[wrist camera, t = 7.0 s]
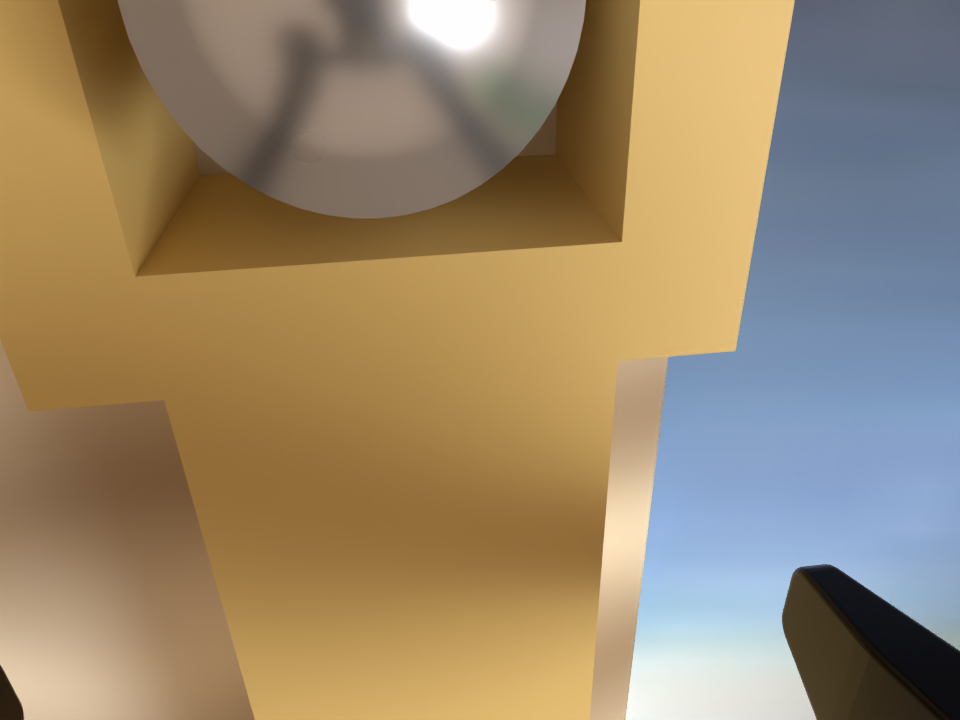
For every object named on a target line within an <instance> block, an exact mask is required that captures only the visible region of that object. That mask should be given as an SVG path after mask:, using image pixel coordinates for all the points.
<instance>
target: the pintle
mask: <svg viewBox="0 0 960 720" xmlns="http://www.w3.org/2000/svg"><path fill="white" fill-rule="evenodd" d="M118 4H119V8H120V11H121V15H122V18H123V21H124V24H125V28H126V31H127V34H128V38H129V40H130V43H131V45H132V47H133V49H134V52H135V54H136V56H137V59H138V61H139V63H140V66H141V68H142V70H143V72H144V74H145V75H146V77H147V79H148V81H149V82H150V84H151V86H152V88H153V89H154V91H155V93H156V94H157V96H158V98H159V100H160V101H161V102H162V104H163V105H164V106H165V108H166V109H167V110H168V112H169V113H170V114H171V116H172V117H173V118H174V120H175V121H176V123H177V124H178V125H179V126H180V127H181V129H182V130H183V131H184V132H185V133H186V134H187V135H188V136H189V137H190V138H191V139H192V140H193V141H194V142H195V144H196V145H197V146H198V147H199V148H200V149H201V150H202V151H204V152H205V153H206V154H207V155H208V156H209V157H211V158H212V159H213V160H214V161H215V162H216V163H218V164H219V165H220V166H221V167H222V168H223V169H225V170H226V171H228V172H229V173H231V174H232V175H234V176H235V177H237V178H238V179H240V180H241V181H243V182H244V183H246V184H247V185H249V186H251V187H252V188H254V189H256V190H258V191H260V192H262V193H264V194H266V195H268V196H270V197H272V198H274V199H276V200H279V201H282V202H284V203H287V204H290V205H292V206H295V207H297V208H300V209H304V210H308V211H312V212H316V213H320V214H324V215H330V216H338V217H346V218H387V217H395V216H403V215H409V214H413V213H417V212H420V211H424V210H428V209H432V208H435V207H437V206H440V205H442V204H445V203H447V202H450V201H452V200H455V199H457V198H459V197H461V196H462V195H464V194H466V193H468V192H470V191H471V190H473V189H475V188H477V187H479V186H480V185H482V184H483V183H484V182H486V181H487V180H489V179H490V178H491V177H493V176H494V175H495V174H497V173H498V172H499V171H501V170H502V169H503V168H504V167H505V166H506V165H507V164H508V163H509V162H511V161H512V160H513V159H514V158H515V157H516V156H517V155H518V154H519V153H520V152H521V151H522V150H523V149H524V147H525V146H526V145H527V144H528V143H529V141H530V140H531V139H532V138H533V137H534V135H535V134H536V133H537V132H538V131H539V129H540V128H541V126H542V125H543V123H544V121H545V120H546V118H547V117H548V115H549V114H550V112H551V111H552V109H553V107H554V106H555V104H556V102H557V100H558V98H559V96H560V94H561V91H562V89H563V87H564V85H565V83H566V81H567V79H568V76H569V73H570V70H571V67H572V64H573V62H574V59H575V56H576V53H577V50H578V45H579V41H580V36H581V31H582V27H583V22H584V15H585V5H586V0H118Z"/></svg>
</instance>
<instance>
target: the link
mask: <svg viewBox="0 0 960 720" xmlns="http://www.w3.org/2000/svg"><path fill="white" fill-rule="evenodd" d="M794 1H795V0H586V5H585V15H584V22H583V27H582V31H581V36H580V41H579V45H578V50H577V53H576V56H575V59H574V62H573V64H572V67H571V70H570V73H569V76H568V79H567V81H566V83H565V85H564V87H563V89H562V91H561V94H560V96H559V98H558V100H557V117H556V154H548V155H532V156H516V157H515V158H514V159H513V160H512V161H511V162H509V163H508V164H507V165H506V166H505V167H504V168H503V169H502V170H501V171H499V172H498V173H497V174H495V175H494V176H493V177H491V178H490V179H489V180H487V181H486V182H484V183H483V184H482V185H480V186H479V187H477V188H475V189H473V190H471V191H470V192H468V193H466V194H464V195H462V196H461V197H459V198H457V199H455V200H452V201H450V202H447V203H445V204H442V205H440V206H437V207H435V208H432V209H428V210H424V211H420V212H417V213H413V214H409V215H403V216H395V217H387V218H346V217H338V216H330V215H324V214H320V213H316V212H312V211H308V210H304V209H300V208H297V207H295V206H292V205H290V204H287V203H284V202H282V201H279V200H276V199H274V198H272V197H270V196H268V195H266V194H264V193H262V192H260V191H258V190H256V189H254V188H252V187H251V186H249V185H247V184H246V183H244V182H243V181H241V180H240V179H238V178H237V177H235V176H234V175H232V174H231V173H230V174H213V175H200V172H199V168H198V163H197V159H196V154H195V149H194V145H193V140H192V139H191V138H190V137H189V136H188V135H187V134H186V133H185V132H184V131H183V130H182V129H181V127H180V126H179V125H178V124H177V123H176V121H175V120H174V118H173V117H172V116H171V114H170V113H169V112H168V110H167V109H166V108H165V106H164V105H163V104H162V102H161V101H160V100H159V98H158V96H157V94H156V93H155V91H154V89H153V88H152V86H151V84H150V82H149V81H148V79H147V77H146V75H145V74H144V72H143V70H142V68H141V66H140V63H139V61H138V59H137V56H136V54H135V52H134V49H133V47H132V45H131V43H130V40H129V38H128V34H127V31H126V28H125V24H124V21H123V18H122V15H121V11H120V8H119V4H118V0H0V340H1V343H2V345H3V348H4V350H5V353H6V355H7V358H8V360H9V363H10V365H11V368H12V371H13V373H14V376H15V378H16V381H17V383H18V386H19V388H20V391H21V393H22V396H23V398H24V401H25V403H26V406H27V408H28V411H29V412H31V411H43V410H54V409H66V408H77V407H89V406H101V405H112V404H124V403H136V402H147V401H159V400H164V401H165V405H166V408H167V412H168V416H169V419H170V423H171V426H172V430H173V433H174V437H175V440H176V444H177V447H178V451H179V454H180V458H181V461H182V465H183V468H184V472H185V475H186V479H187V482H188V486H189V490H190V493H191V497H192V500H193V504H194V507H195V511H196V514H197V518H198V521H199V525H200V528H201V532H202V535H203V539H204V542H205V546H206V549H207V553H208V557H209V560H210V564H211V567H212V571H213V574H214V578H215V581H216V585H217V588H218V592H219V595H220V599H221V602H222V606H223V609H224V613H225V616H226V620H227V623H228V627H229V631H230V634H231V638H232V641H233V645H234V648H235V652H236V655H237V659H238V662H239V666H240V669H241V673H242V676H243V680H244V683H245V687H246V690H247V694H248V697H249V701H250V705H251V708H252V712H253V715H254V719H255V720H590V708H591V696H592V683H593V670H594V658H595V645H596V632H597V619H598V607H599V594H600V581H601V569H602V556H603V543H604V531H605V518H606V505H607V492H608V480H609V467H610V454H611V442H612V429H613V416H614V404H615V391H616V378H617V366H618V361H624V360H636V359H647V358H659V357H671V356H682V355H694V354H706V353H717V352H729V351H735V350H736V344H737V338H738V333H739V327H740V321H741V315H742V309H743V303H744V297H745V291H746V285H747V279H748V273H749V267H750V262H751V256H752V250H753V244H754V238H755V232H756V226H757V220H758V214H759V208H760V202H761V197H762V191H763V185H764V179H765V173H766V167H767V161H768V155H769V149H770V143H771V137H772V131H773V126H774V120H775V114H776V108H777V102H778V96H779V90H780V84H781V78H782V72H783V66H784V60H785V55H786V49H787V43H788V37H789V31H790V25H791V19H792V13H793V7H794Z"/></svg>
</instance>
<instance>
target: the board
mask: <svg viewBox="0 0 960 720" xmlns="http://www.w3.org/2000/svg"><path fill="white" fill-rule="evenodd" d="M556 117H557V102H556V104H555V106H554V107H553V109H552V111H551V112H550V114H549V115H548V117H547V118H546V120H545V121H544V123H543V125H542V126H541V128H540V129H539V131H538V132H537V133H536V134H535V135H534V137H533V138H532V139H531V140H530V141H529V143H528V144H527V145H526V146H525V147H524V149H523V150H522V151H521V152H520V153H519V154H518V155H517V156H532V155H548V154H556ZM193 145H194V149H195V154H196V159H197V163H198V168H199V172H200V175H213V174H230V173H229V172H228V171H226V170H225V169H223V168H222V167H221V166H220V165H219V164H218V163H216V162H215V161H214V160H213V159H212V158H211V157H209V156H208V155H207V154H206V153H205V152H204V151H202V150H201V149H200V148H199V147H198V146H197V145H196V144H195V142H194V141H193ZM667 363H668V357H659V358H647V359H636V360H624V361H618V366H617V378H616V391H615V404H614V416H613V429H612V442H611V454H610V467H609V480H608V492H607V505H606V518H605V531H604V543H603V556H602V569H601V581H600V594H599V607H598V619H597V632H596V645H595V658H594V670H593V683H592V696H591V708H590V720H625V717H626V709H627V700H628V692H629V684H630V675H631V667H632V658H633V650H634V641H635V633H636V625H637V616H638V608H639V599H640V591H641V582H642V574H643V565H644V557H645V549H646V540H647V532H648V523H649V515H650V506H651V498H652V489H653V481H654V473H655V464H656V456H657V447H658V439H659V430H660V422H661V414H662V405H663V397H664V388H665V380H666V371H667ZM0 665H1V666H2V668H3V670H4V672H5V674H6V676H7V677H8V679H9V681H10V683H11V685H12V687H13V689H14V691H15V693H16V694H17V696H18V698H19V700H20V702H21V704H22V707H23V712H24V720H255V719H254V715H253V712H252V708H251V705H250V701H249V697H248V694H247V690H246V687H245V683H244V680H243V676H242V673H241V669H240V666H239V662H238V659H237V655H236V652H235V648H234V645H233V641H232V638H231V634H230V631H229V627H228V623H227V620H226V616H225V613H224V609H223V606H222V602H221V599H220V595H219V592H218V588H217V585H216V581H215V578H214V574H213V571H212V567H211V564H210V560H209V557H208V553H207V549H206V546H205V542H204V539H203V535H202V532H201V528H200V525H199V521H198V518H197V514H196V511H195V507H194V504H193V500H192V497H191V493H190V490H189V486H188V482H187V479H186V475H185V472H184V468H183V465H182V461H181V458H180V454H179V451H178V447H177V444H176V440H175V437H174V433H173V430H172V426H171V423H170V419H169V416H168V412H167V408H166V405H165V401H164V400H159V401H147V402H136V403H124V404H112V405H101V406H89V407H77V408H66V409H54V410H43V411H31V412H29V411H28V408H27V406H26V403H25V401H24V398H23V396H22V393H21V391H20V388H19V386H18V383H17V381H16V378H15V376H14V373H13V371H12V368H11V365H10V363H9V360H8V358H7V355H6V353H5V350H4V348H3V345H2V343H1V340H0Z"/></svg>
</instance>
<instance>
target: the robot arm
mask: <svg viewBox="0 0 960 720" xmlns="http://www.w3.org/2000/svg"><path fill="white" fill-rule="evenodd" d="M782 624H783V630H784V634H785V637H786V639H787V642H788V645H789V647H790V650H791V653H792V655H793V658H794V661H795V663H796V666H797V668H798V671H799V674H800V676H801V679H802V682H803V684H804V687H805V690H806V692H807V695H808V698H809V700H810V703H811V706H812V708H813V711H814V713H815V716H816V719H817V720H960V651H959V650H957V649H956V648H954V647H953V646H951V645H950V644H949V643H947V642H946V641H944V640H943V639H941V638H940V637H938V636H937V635H935V634H934V633H932V632H931V631H929V630H928V629H926V628H925V627H923V626H922V625H920V624H919V623H918V622H916V621H915V620H913V619H912V618H910V617H909V616H907V615H906V614H904V613H903V612H901V611H900V610H898V609H897V608H895V607H894V606H892V605H891V604H889V603H888V602H887V601H885V600H884V599H882V598H881V597H879V596H878V595H876V594H875V593H873V592H872V591H870V590H869V589H867V588H866V587H864V586H863V585H861V584H860V583H858V582H857V581H856V580H854V579H853V578H851V577H850V576H848V575H847V574H845V573H844V572H842V571H841V570H839V569H838V568H836V567H834V566H831V565H827V564H823V565H814V566H805V567H800V568H797V569H796V570H795V572H794V573H793V575H792V578H791V582H790V586H789V590H788V594H787V598H786V601H785V605H784V609H783V614H782ZM0 720H24V712H23V707H22V704H21V702H20V700H19V698H18V696H17V694H16V693H15V691H14V689H13V687H12V685H11V683H10V681H9V679H8V677H7V676H6V674H5V672H4V670H3V668H2V666H1V665H0Z"/></svg>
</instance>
